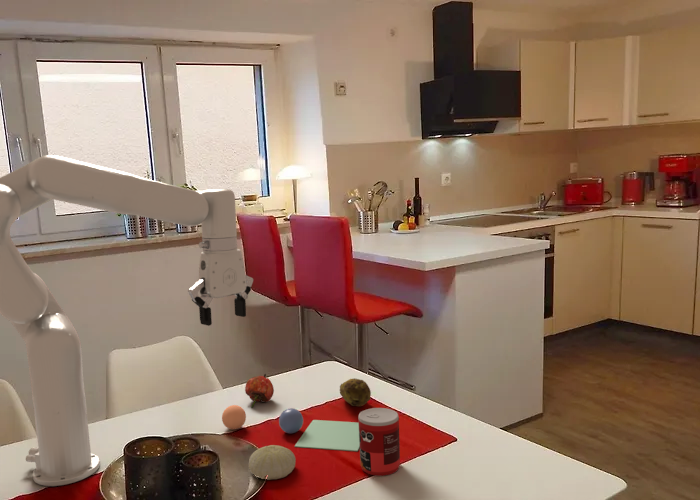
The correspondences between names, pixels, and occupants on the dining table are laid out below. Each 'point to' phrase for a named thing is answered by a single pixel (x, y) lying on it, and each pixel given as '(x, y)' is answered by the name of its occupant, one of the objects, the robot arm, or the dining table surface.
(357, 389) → the potato
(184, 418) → the dining table surface
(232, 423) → the peach ball
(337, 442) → the green mark
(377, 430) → the canned food
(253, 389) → the pomegranate
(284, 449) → the sea urchin shell
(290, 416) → the blue ball
